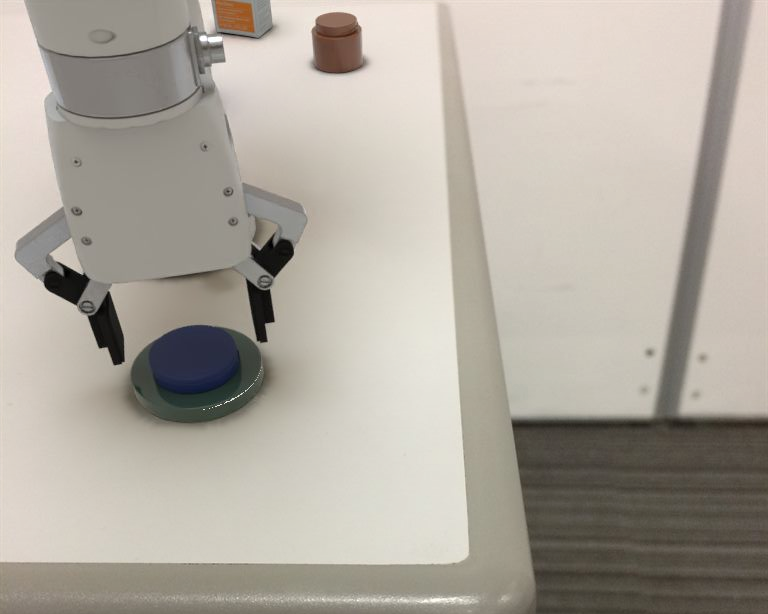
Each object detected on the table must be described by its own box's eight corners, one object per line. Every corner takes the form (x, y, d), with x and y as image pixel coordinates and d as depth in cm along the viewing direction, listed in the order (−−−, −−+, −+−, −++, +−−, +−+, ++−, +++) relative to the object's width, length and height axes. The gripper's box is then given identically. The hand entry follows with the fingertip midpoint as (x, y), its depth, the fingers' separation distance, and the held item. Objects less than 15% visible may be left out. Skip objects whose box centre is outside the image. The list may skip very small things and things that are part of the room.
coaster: (289, 381, 57) (287, 368, 56) (177, 442, 53) (173, 428, 52) (218, 323, 61) (215, 310, 60) (111, 375, 58) (106, 362, 57)
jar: (373, 63, 93) (371, 19, 90) (334, 77, 91) (332, 32, 87) (342, 49, 96) (339, 6, 92) (304, 62, 93) (300, 19, 90)
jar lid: (236, 334, 58) (233, 319, 57) (244, 386, 55) (241, 371, 54) (151, 346, 58) (146, 331, 57) (153, 400, 54) (148, 385, 53)
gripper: (281, 25, 45) (308, 291, 58) (-45, 59, 43) (60, 327, 56) (302, 79, 40) (327, 356, 53) (-63, 119, 38) (56, 398, 51)
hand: (190, 341), depth 55 cm, fingers open, 9 cm apart
